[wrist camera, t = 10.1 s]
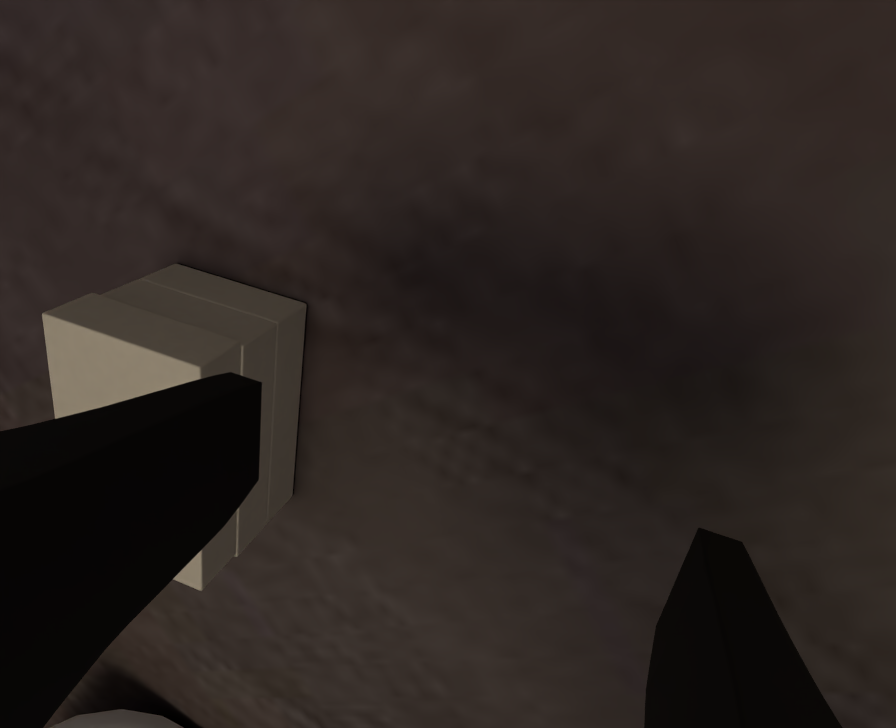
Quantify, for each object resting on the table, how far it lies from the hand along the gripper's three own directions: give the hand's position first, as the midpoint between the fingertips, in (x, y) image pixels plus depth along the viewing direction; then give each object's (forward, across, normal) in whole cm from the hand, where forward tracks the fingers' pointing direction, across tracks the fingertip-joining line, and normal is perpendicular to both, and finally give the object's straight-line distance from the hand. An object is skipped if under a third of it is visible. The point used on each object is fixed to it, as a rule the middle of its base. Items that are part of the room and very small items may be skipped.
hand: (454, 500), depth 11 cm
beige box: (+6, +10, +6) cm, 14 cm away
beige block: (+10, +10, +6) cm, 16 cm away
